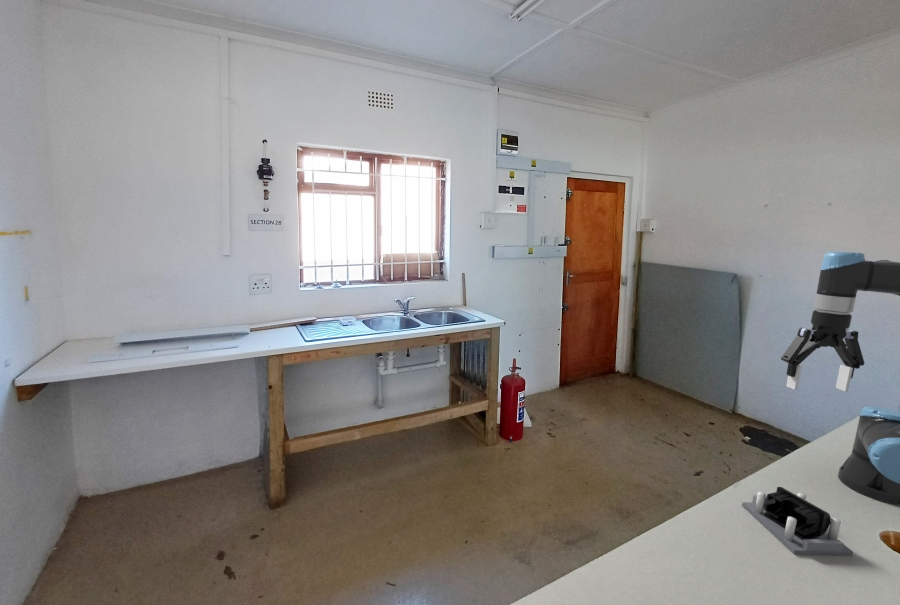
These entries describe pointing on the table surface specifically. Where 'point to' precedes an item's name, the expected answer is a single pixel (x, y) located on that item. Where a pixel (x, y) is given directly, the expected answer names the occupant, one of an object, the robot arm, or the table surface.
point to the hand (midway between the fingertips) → (816, 388)
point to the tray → (796, 539)
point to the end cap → (797, 514)
